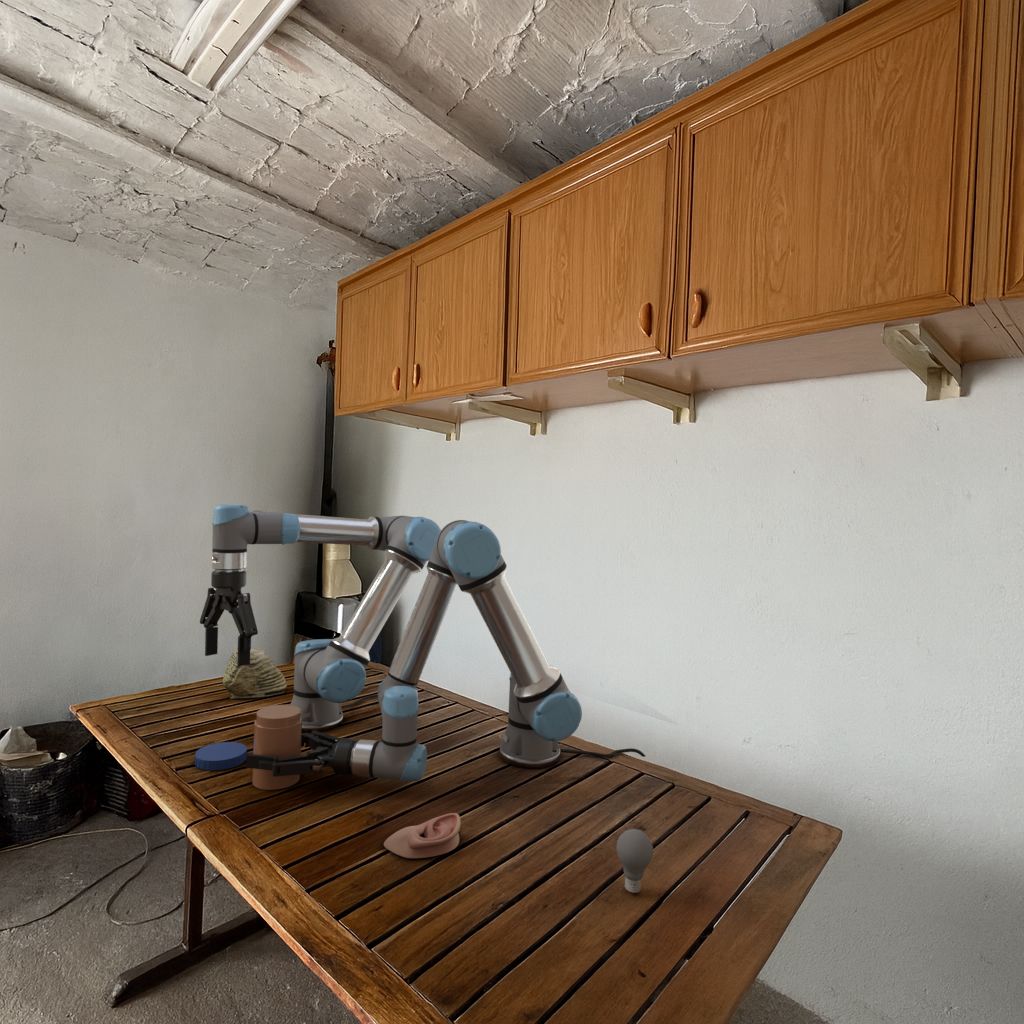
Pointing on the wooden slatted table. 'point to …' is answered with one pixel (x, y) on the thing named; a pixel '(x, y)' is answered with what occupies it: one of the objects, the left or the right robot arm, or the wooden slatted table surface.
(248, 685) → the fossil
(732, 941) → the wooden slatted table surface
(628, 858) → the light bulb
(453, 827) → the anatomical model
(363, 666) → the left robot arm
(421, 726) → the wooden slatted table surface
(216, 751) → the lid
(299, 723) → the jar
